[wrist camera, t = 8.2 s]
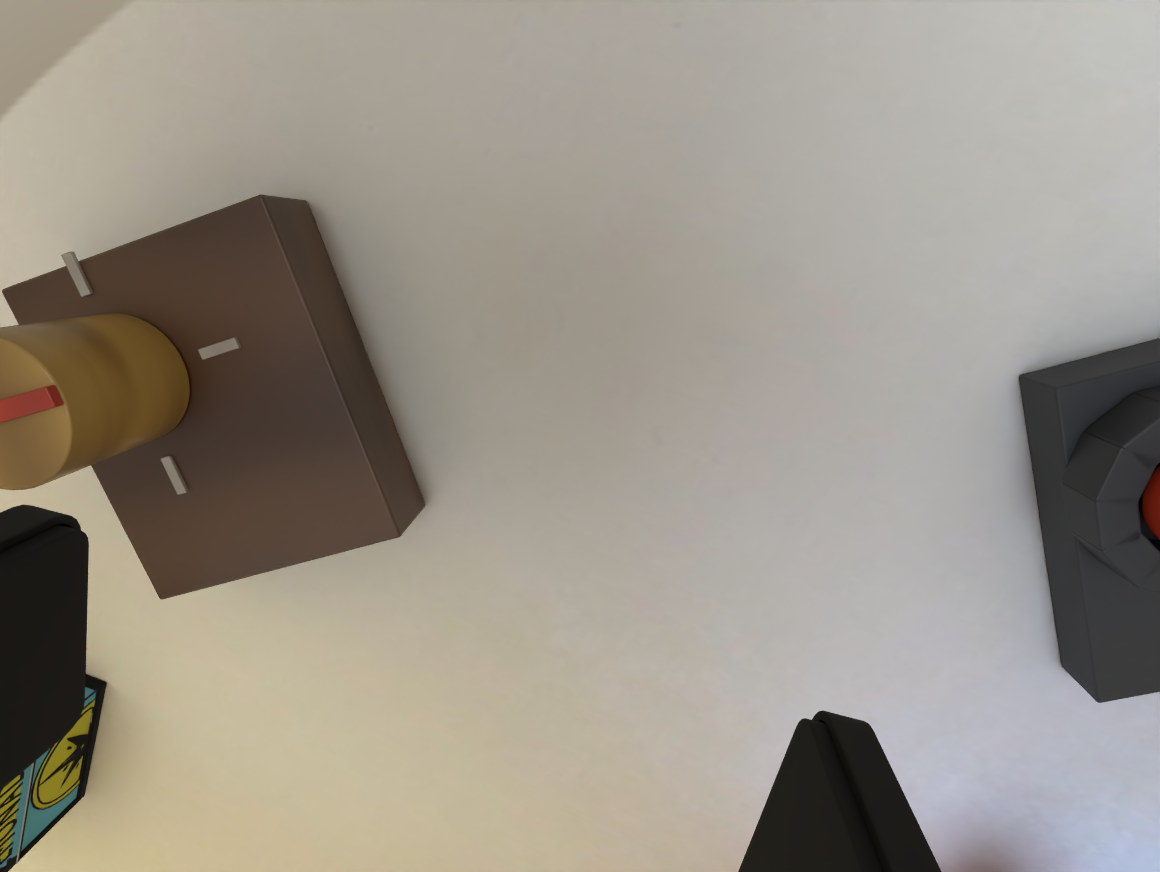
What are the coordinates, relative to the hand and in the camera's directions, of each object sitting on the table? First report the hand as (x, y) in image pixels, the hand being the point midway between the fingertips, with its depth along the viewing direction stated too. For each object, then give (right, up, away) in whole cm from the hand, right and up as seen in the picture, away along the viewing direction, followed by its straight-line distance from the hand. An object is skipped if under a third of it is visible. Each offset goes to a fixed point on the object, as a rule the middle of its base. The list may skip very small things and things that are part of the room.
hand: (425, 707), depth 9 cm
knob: (-13, +5, +14) cm, 20 cm away
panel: (-11, +5, +17) cm, 21 cm away
